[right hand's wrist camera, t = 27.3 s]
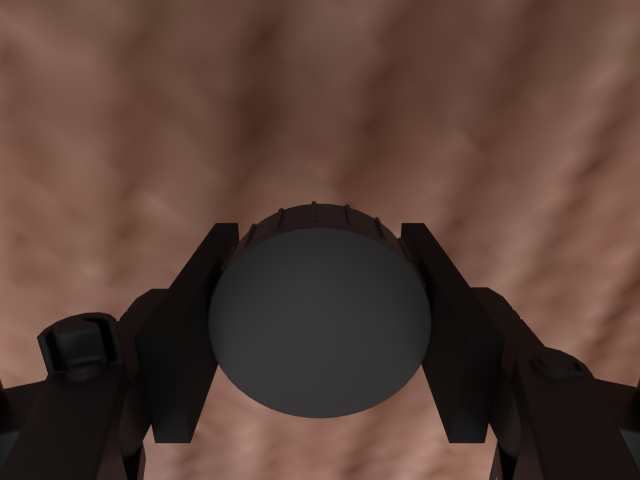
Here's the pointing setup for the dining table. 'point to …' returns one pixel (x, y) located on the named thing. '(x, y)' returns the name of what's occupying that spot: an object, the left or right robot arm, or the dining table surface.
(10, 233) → the dining table surface
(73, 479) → the right robot arm
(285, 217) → the lid
